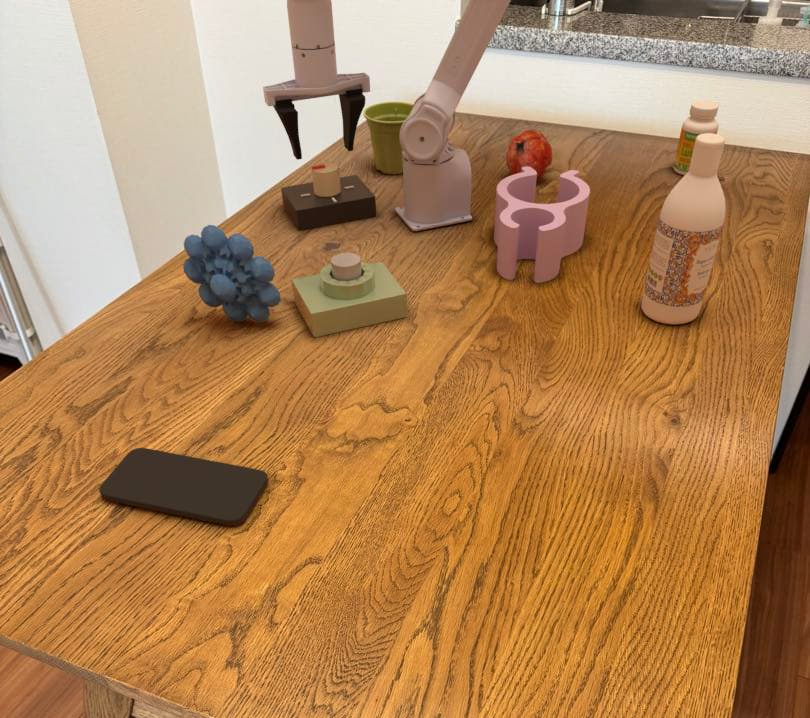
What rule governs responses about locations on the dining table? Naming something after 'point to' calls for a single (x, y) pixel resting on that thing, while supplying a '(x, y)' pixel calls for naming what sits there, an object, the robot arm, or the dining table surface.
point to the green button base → (349, 299)
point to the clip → (538, 223)
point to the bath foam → (687, 238)
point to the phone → (185, 486)
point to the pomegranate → (529, 153)
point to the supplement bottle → (694, 132)
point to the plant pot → (387, 134)
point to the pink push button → (346, 267)
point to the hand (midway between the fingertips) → (323, 152)
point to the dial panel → (328, 204)
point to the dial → (326, 179)
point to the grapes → (230, 274)
